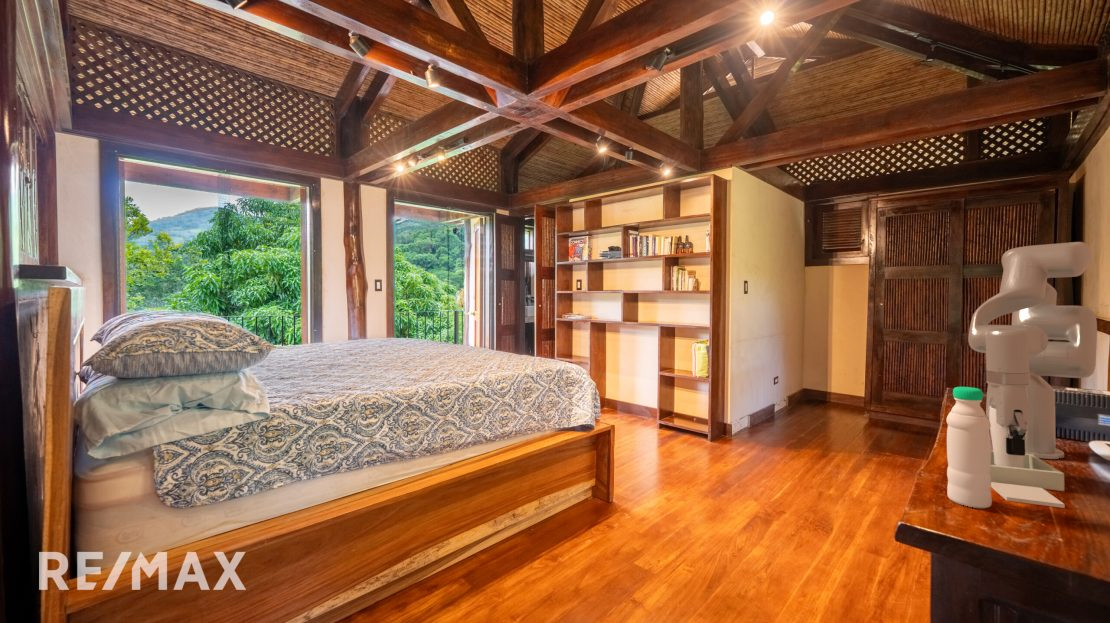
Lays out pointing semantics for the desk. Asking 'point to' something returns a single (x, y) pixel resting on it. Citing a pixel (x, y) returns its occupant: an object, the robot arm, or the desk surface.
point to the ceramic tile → (1026, 494)
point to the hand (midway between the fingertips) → (1008, 449)
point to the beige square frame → (1028, 474)
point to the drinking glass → (1003, 443)
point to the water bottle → (968, 450)
